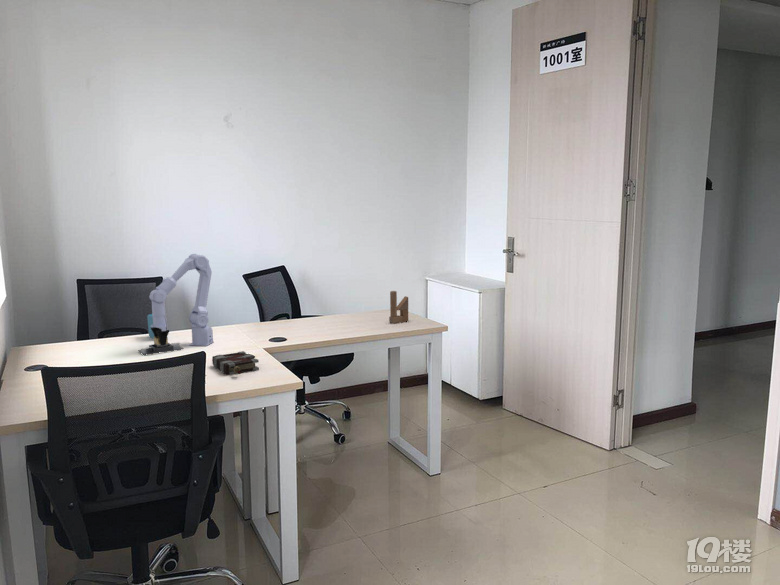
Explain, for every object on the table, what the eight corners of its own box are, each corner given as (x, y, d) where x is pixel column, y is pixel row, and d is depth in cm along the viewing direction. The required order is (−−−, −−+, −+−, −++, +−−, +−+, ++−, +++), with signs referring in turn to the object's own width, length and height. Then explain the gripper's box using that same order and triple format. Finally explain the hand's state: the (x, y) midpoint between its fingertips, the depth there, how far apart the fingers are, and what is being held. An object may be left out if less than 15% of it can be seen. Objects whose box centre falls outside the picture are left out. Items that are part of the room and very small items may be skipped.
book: (244, 361, 284) (244, 350, 284) (265, 374, 264) (265, 362, 263) (211, 366, 277) (211, 355, 276) (231, 380, 256) (230, 368, 255)
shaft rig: (177, 345, 313) (177, 340, 312) (183, 349, 305) (183, 344, 305) (138, 351, 302) (137, 346, 302) (143, 355, 295) (142, 350, 294)
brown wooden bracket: (408, 321, 363) (408, 290, 360) (392, 323, 357) (392, 292, 355) (405, 320, 366) (404, 289, 363) (389, 322, 361) (388, 291, 358)
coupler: (168, 349, 303) (167, 337, 302) (157, 351, 300) (156, 338, 299) (165, 347, 307) (164, 335, 306) (154, 348, 304) (153, 336, 303)
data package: (166, 339, 326) (164, 316, 324) (157, 340, 323) (155, 317, 322) (157, 335, 335) (155, 313, 333) (148, 336, 333) (147, 314, 331)
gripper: (146, 313, 305) (148, 341, 307) (154, 318, 293) (156, 347, 295) (161, 312, 309) (163, 339, 311) (170, 316, 297) (172, 345, 299)
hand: (160, 343), depth 303 cm, fingers open, 7 cm apart
